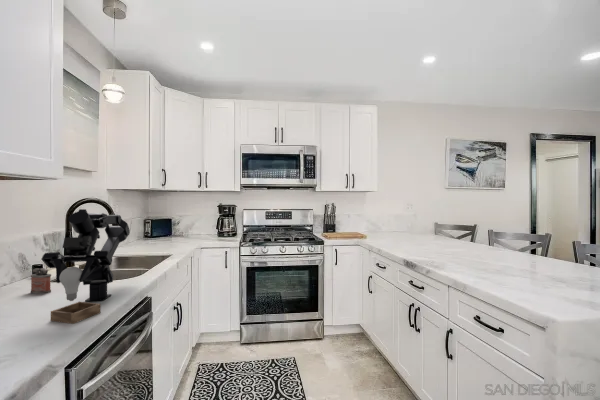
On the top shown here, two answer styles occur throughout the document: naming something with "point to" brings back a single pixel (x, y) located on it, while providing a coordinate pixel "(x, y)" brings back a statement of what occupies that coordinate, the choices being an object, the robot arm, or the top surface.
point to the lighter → (40, 281)
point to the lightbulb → (71, 281)
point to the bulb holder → (75, 312)
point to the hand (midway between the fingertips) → (69, 281)
